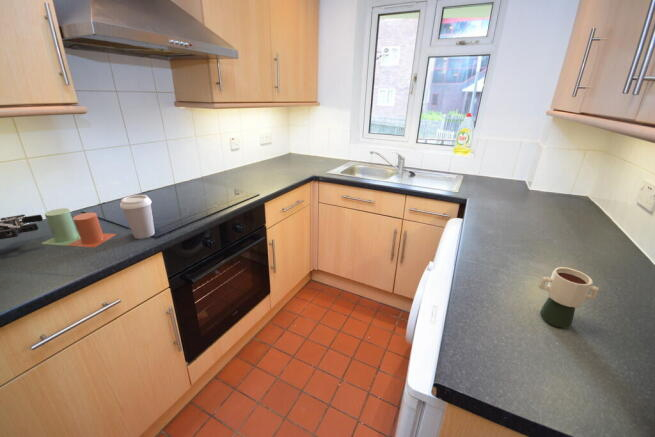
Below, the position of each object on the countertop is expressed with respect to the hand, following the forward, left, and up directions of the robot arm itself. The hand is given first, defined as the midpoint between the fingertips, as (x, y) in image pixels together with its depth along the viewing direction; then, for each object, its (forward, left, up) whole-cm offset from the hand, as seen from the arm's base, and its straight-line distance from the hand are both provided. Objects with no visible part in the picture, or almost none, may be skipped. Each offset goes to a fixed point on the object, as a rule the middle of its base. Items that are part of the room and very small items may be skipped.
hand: (39, 221), depth 99 cm
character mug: (-19, -155, -9) cm, 156 cm away
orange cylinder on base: (+3, -14, -7) cm, 16 cm away
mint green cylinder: (+3, -4, -7) cm, 9 cm away
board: (+3, -9, -8) cm, 13 cm away
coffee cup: (+9, -29, -9) cm, 32 cm away
